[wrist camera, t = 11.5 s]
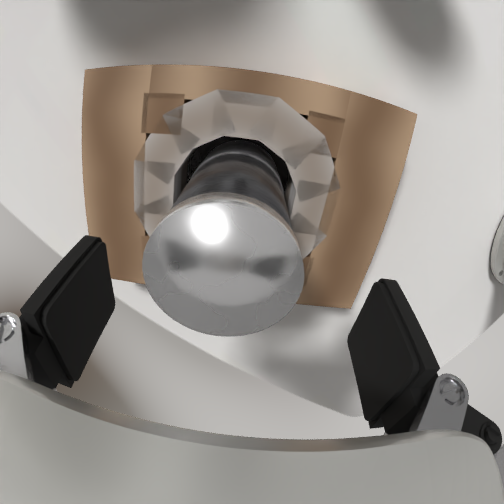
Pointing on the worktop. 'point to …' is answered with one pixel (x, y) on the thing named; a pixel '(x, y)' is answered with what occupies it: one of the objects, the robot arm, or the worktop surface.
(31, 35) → the worktop surface
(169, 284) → the shiny metal canister
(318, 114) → the mount board
